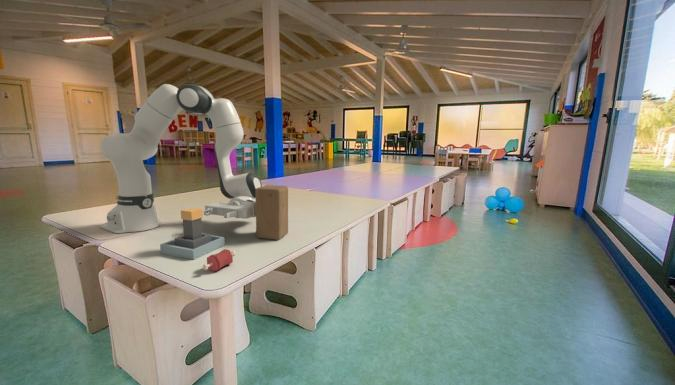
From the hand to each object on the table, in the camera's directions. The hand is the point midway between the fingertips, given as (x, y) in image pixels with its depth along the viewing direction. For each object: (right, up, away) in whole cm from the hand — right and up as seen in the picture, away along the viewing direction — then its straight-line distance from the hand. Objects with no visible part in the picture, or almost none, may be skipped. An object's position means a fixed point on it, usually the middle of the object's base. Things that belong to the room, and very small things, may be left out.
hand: (215, 214), depth 105 cm
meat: (+11, -14, -21) cm, 28 cm away
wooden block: (+20, -9, +8) cm, 23 cm away
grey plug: (-4, -11, -8) cm, 14 cm away
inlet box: (-4, -11, -8) cm, 14 cm away
